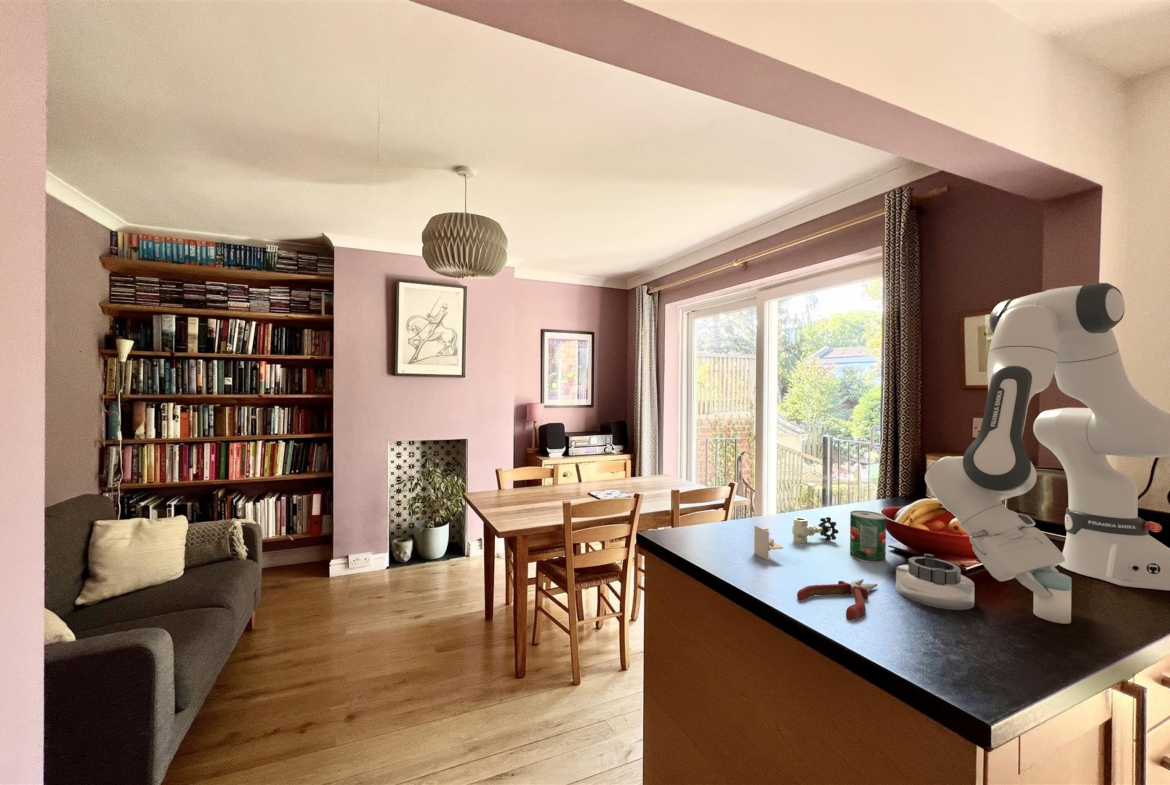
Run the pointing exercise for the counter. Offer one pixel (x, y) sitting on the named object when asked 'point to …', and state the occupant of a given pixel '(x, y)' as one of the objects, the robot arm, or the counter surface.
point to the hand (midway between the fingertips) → (1056, 595)
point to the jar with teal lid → (1053, 597)
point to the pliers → (842, 589)
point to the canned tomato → (868, 536)
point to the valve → (812, 530)
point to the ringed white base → (935, 583)
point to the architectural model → (763, 543)
